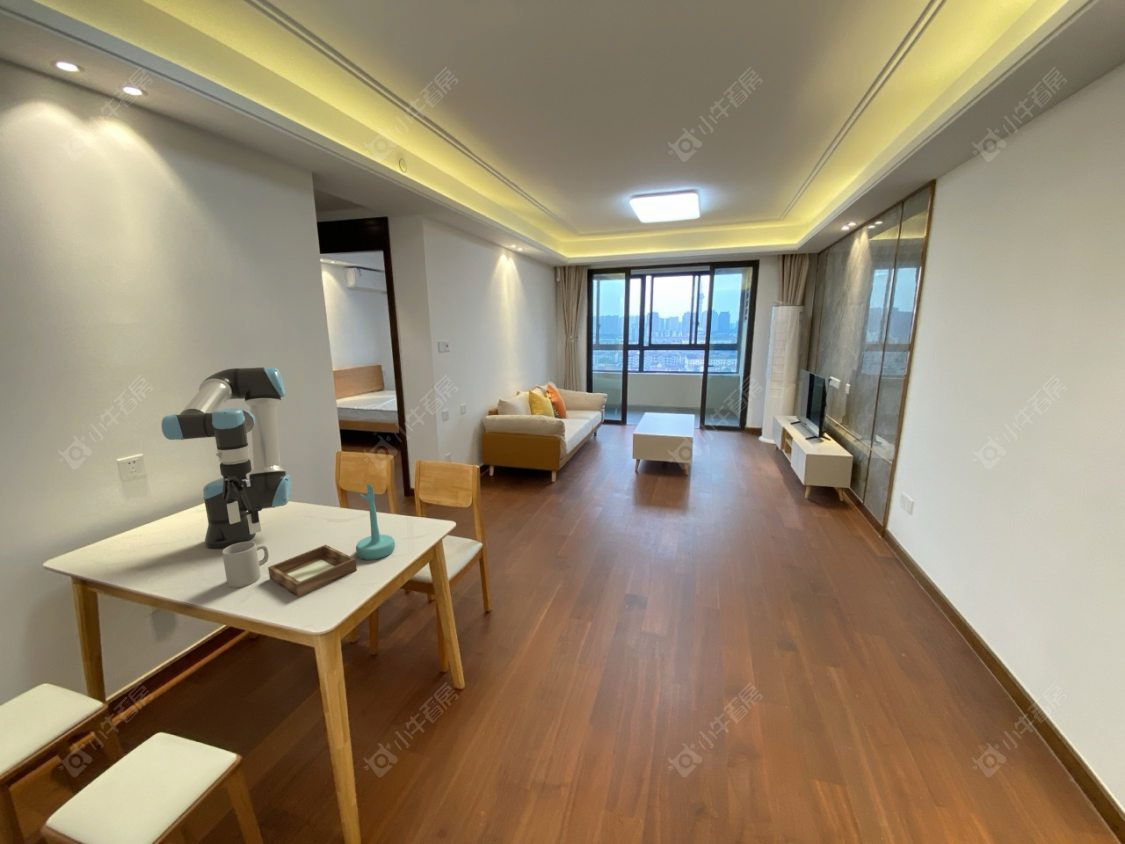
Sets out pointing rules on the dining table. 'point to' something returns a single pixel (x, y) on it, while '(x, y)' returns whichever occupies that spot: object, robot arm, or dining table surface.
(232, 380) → the robot arm
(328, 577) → the walnut box
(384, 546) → the teal branch stand
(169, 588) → the dining table surface
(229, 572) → the mug
